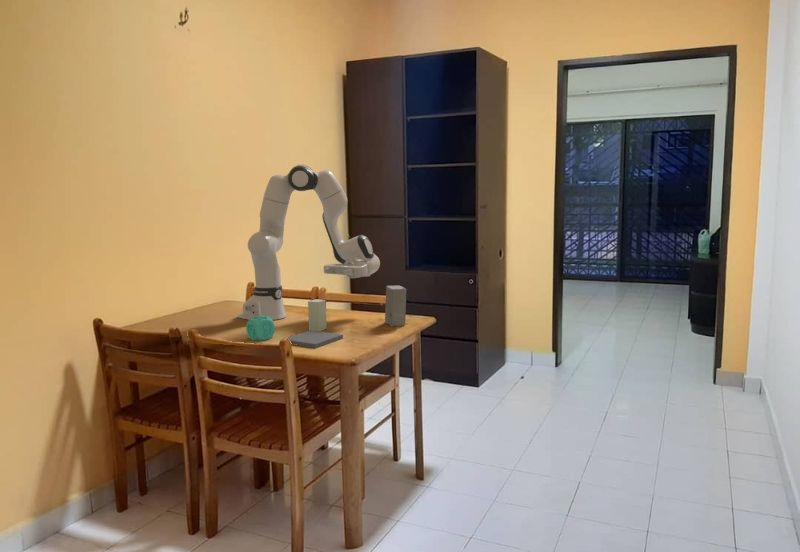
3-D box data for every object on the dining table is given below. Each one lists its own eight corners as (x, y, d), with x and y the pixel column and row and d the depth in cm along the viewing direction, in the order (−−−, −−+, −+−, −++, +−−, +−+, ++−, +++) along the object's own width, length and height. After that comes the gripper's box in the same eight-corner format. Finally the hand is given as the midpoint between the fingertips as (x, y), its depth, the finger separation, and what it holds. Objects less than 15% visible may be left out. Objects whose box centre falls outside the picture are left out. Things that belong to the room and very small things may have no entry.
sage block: (309, 330, 248) (307, 301, 246) (317, 327, 252) (315, 299, 250) (318, 331, 245) (317, 302, 243) (326, 329, 249) (325, 300, 248)
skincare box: (384, 322, 258) (383, 285, 256) (400, 321, 261) (399, 284, 259) (391, 327, 251) (390, 288, 248) (407, 325, 253) (406, 287, 251)
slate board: (282, 343, 228) (282, 339, 228) (310, 333, 242) (310, 330, 241) (316, 348, 220) (315, 344, 220) (343, 338, 233) (342, 334, 233)
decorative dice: (264, 334, 242) (263, 314, 241) (275, 337, 237) (274, 317, 235) (246, 338, 237) (245, 318, 236) (257, 341, 231) (256, 321, 230)
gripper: (334, 259, 272) (314, 263, 260) (372, 261, 261) (353, 265, 250) (335, 273, 273) (315, 278, 261) (373, 276, 262) (354, 281, 251)
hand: (334, 272), depth 255 cm, fingers open, 8 cm apart
